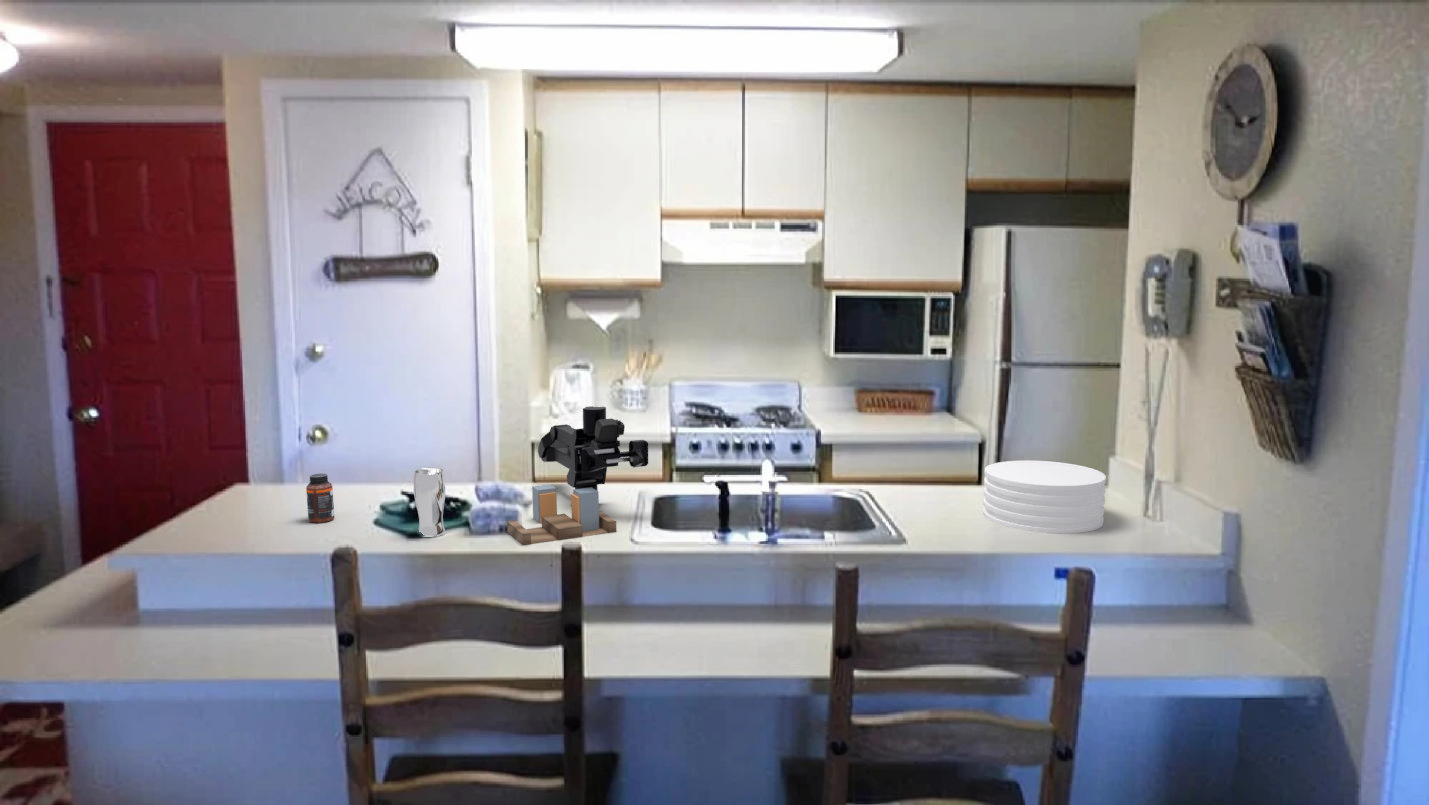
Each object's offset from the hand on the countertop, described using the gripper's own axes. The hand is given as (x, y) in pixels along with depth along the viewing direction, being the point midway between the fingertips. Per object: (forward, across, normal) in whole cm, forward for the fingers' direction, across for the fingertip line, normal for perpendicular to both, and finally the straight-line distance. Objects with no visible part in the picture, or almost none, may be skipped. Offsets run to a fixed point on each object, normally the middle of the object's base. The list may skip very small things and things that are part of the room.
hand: (624, 462), depth 224 cm
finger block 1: (-16, -14, +17) cm, 27 cm away
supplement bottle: (-45, -61, +17) cm, 78 cm away
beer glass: (-20, -40, +17) cm, 48 cm away
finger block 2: (-4, -8, +16) cm, 18 cm away
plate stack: (+36, +95, +16) cm, 103 cm away
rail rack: (-4, -14, +17) cm, 22 cm away
